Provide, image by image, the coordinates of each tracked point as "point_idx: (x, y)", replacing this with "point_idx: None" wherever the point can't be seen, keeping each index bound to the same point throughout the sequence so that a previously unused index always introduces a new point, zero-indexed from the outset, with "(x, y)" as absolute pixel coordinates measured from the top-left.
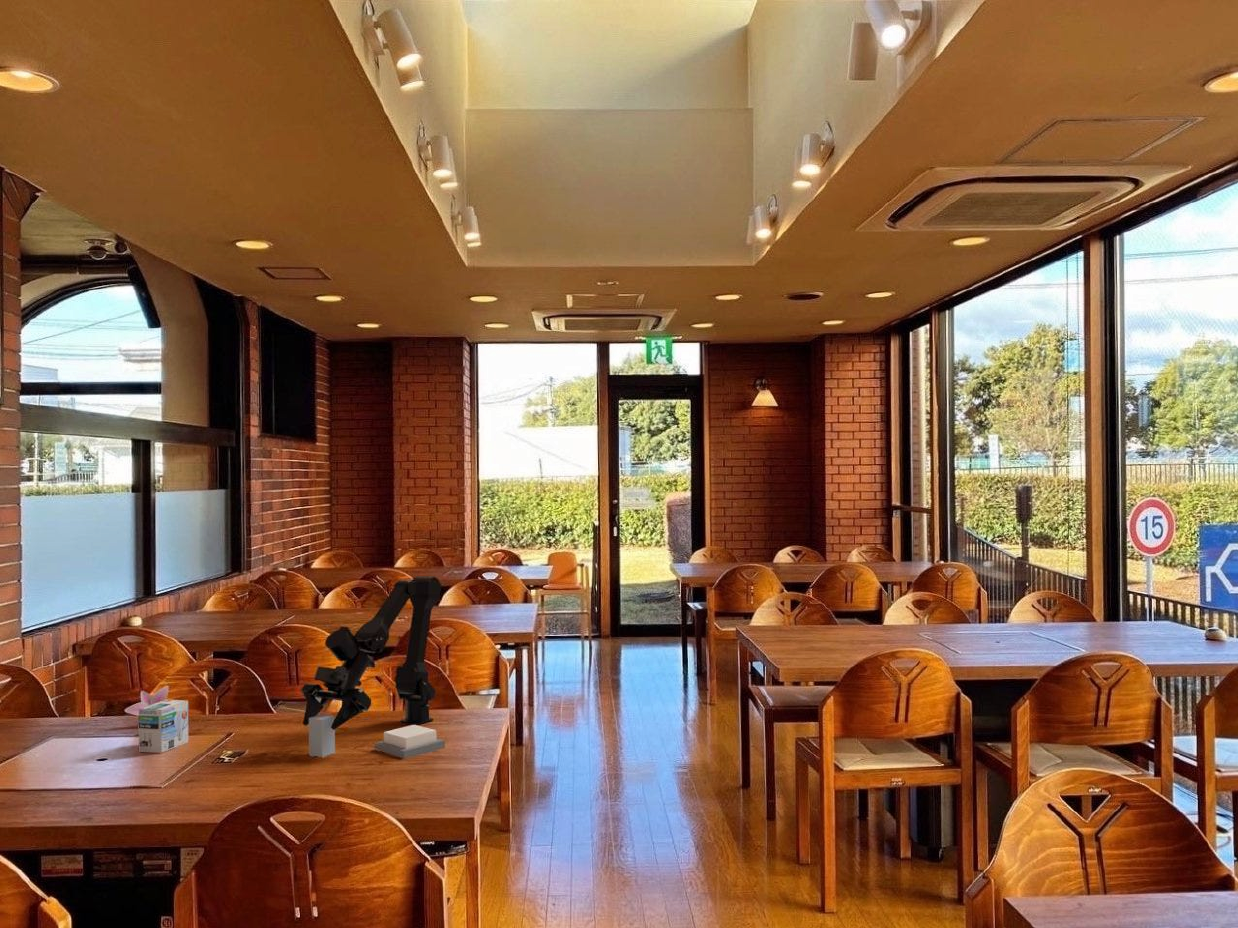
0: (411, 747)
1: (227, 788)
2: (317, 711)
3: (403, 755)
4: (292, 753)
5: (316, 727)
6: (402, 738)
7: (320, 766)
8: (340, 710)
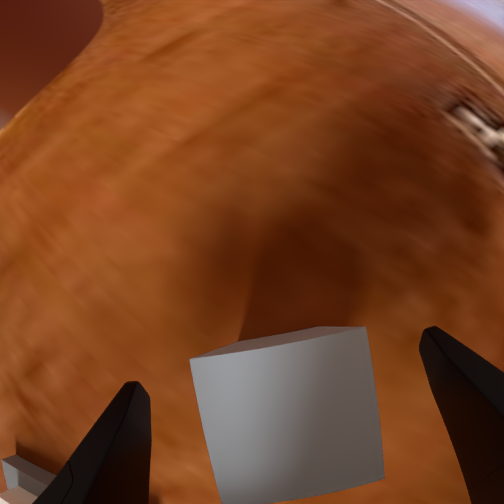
0: None
1: (206, 15)
2: (471, 478)
3: (12, 457)
4: (408, 297)
5: (264, 343)
6: (12, 502)
7: (134, 255)
8: (74, 492)
